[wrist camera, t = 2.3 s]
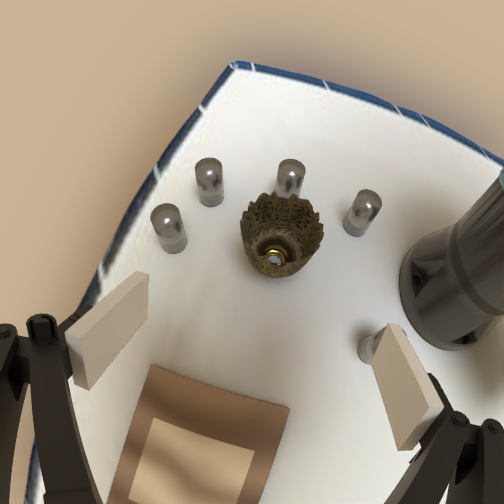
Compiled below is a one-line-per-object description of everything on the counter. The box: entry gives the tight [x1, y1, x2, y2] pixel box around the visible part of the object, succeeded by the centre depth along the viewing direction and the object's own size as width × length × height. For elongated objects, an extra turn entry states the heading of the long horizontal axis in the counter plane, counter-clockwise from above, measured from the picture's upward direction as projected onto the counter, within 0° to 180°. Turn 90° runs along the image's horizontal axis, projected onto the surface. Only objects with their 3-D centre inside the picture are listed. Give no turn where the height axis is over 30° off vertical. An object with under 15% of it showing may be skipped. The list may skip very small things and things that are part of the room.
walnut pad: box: [107, 364, 290, 504], centre depth 23 cm, size 20×14×1 cm
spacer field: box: [150, 158, 407, 364], centre depth 32 cm, size 22×29×6 cm
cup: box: [240, 192, 324, 278], centre depth 31 cm, size 8×7×8 cm
